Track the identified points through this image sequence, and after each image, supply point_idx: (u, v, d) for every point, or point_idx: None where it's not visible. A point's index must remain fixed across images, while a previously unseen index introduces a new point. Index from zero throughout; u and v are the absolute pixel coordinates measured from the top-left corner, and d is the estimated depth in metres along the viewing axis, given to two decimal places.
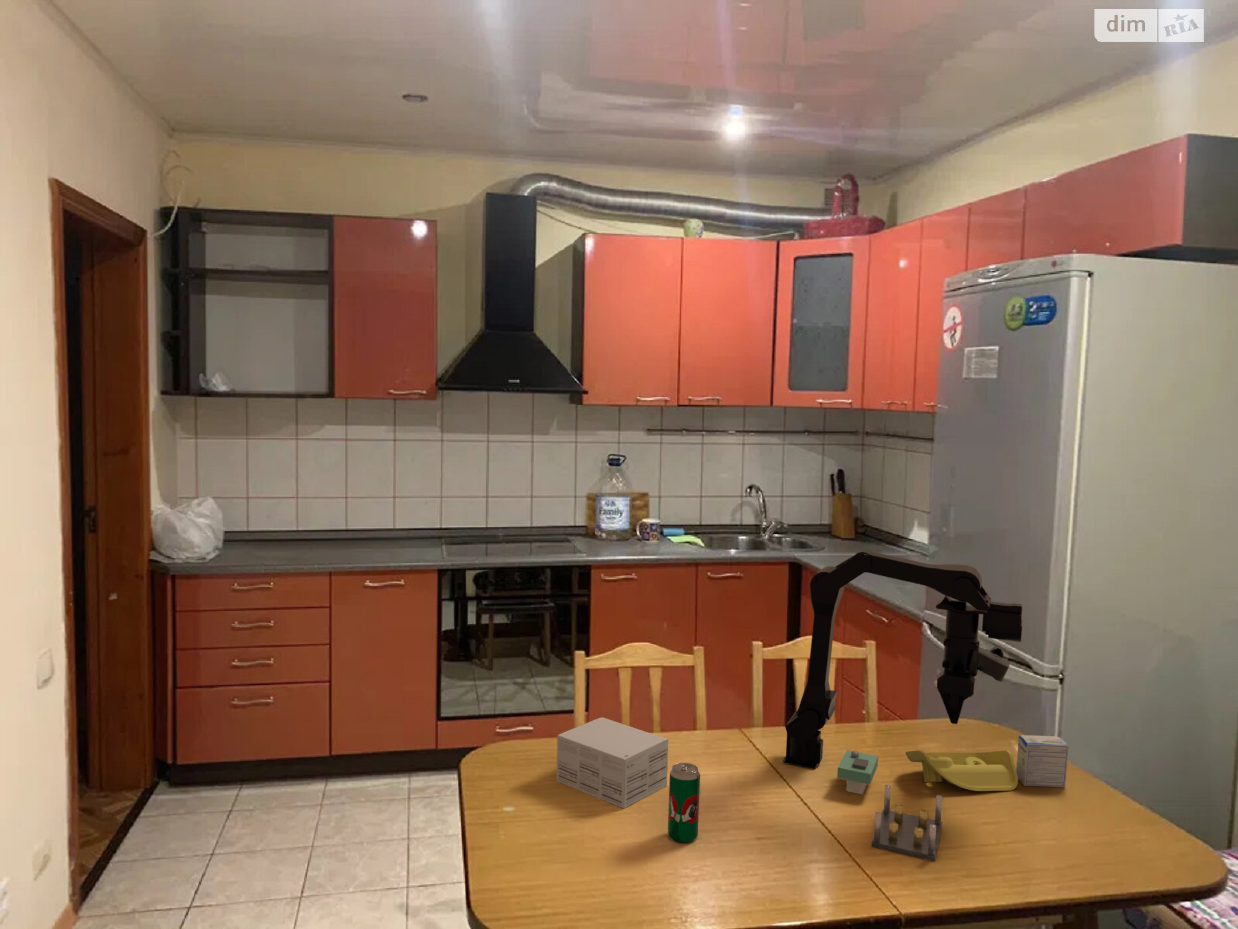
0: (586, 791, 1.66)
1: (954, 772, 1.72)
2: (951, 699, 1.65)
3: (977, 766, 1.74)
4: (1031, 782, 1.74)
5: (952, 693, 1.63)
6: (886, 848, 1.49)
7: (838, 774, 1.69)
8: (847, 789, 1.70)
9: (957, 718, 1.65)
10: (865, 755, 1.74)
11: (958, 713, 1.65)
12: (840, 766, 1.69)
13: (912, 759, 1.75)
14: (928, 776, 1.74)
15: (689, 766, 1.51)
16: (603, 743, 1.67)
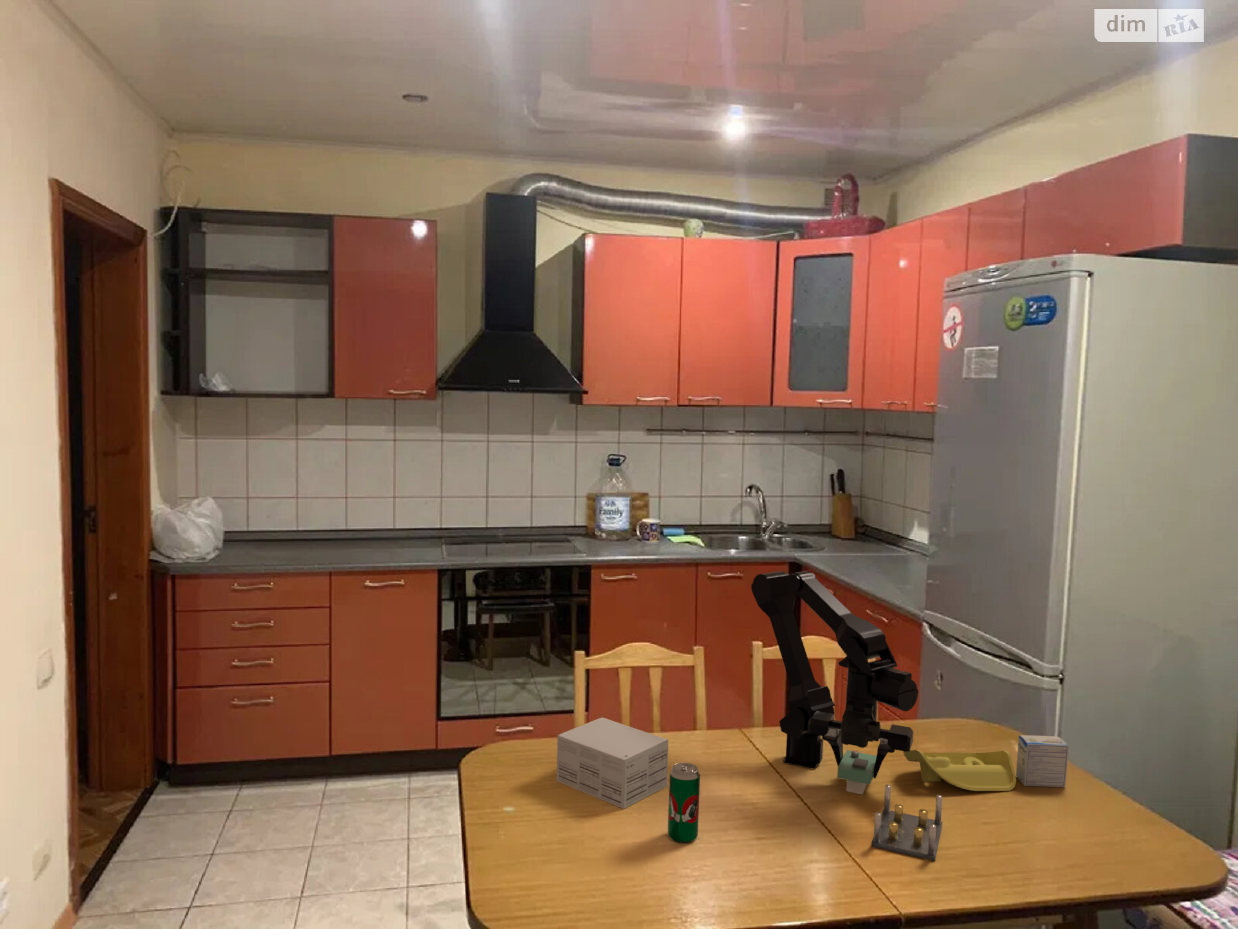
0: (586, 791, 1.66)
1: (952, 772, 1.72)
2: None
3: (975, 766, 1.74)
4: (1031, 782, 1.74)
5: None
6: (886, 848, 1.49)
7: (838, 774, 1.69)
8: (847, 789, 1.70)
9: (837, 765, 1.73)
10: (865, 755, 1.74)
11: (836, 759, 1.73)
12: (840, 766, 1.69)
13: (910, 758, 1.75)
14: (925, 776, 1.74)
15: (689, 766, 1.51)
16: (602, 743, 1.67)
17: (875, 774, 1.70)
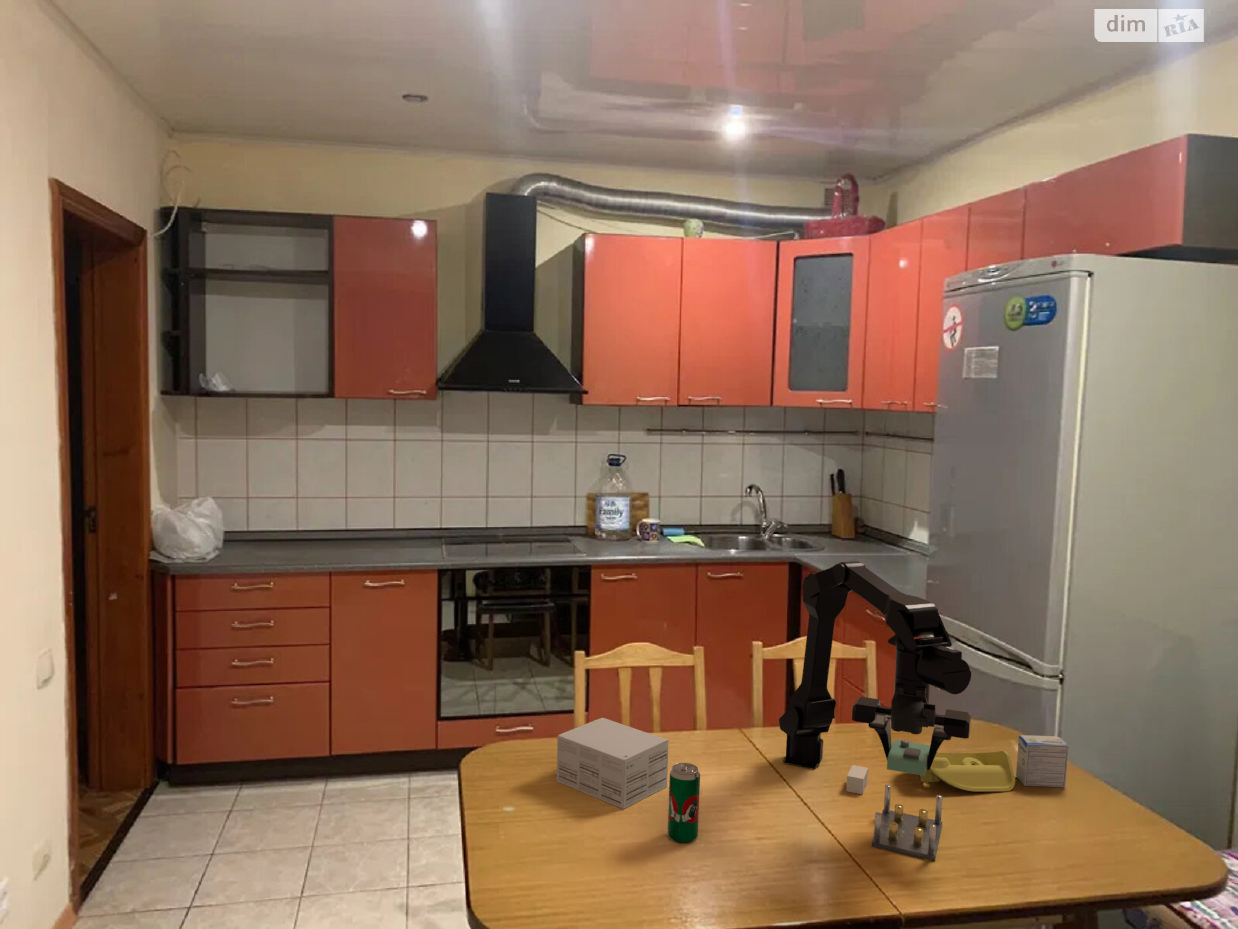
0: (586, 791, 1.66)
1: (951, 772, 1.72)
2: None
3: (974, 766, 1.74)
4: (1031, 782, 1.74)
5: None
6: (886, 848, 1.49)
7: (888, 765, 1.51)
8: (847, 789, 1.70)
9: (886, 756, 1.55)
10: (916, 744, 1.57)
11: (884, 749, 1.55)
12: (890, 756, 1.52)
13: None
14: (924, 776, 1.74)
15: (689, 766, 1.51)
16: (602, 743, 1.66)
17: (929, 765, 1.52)
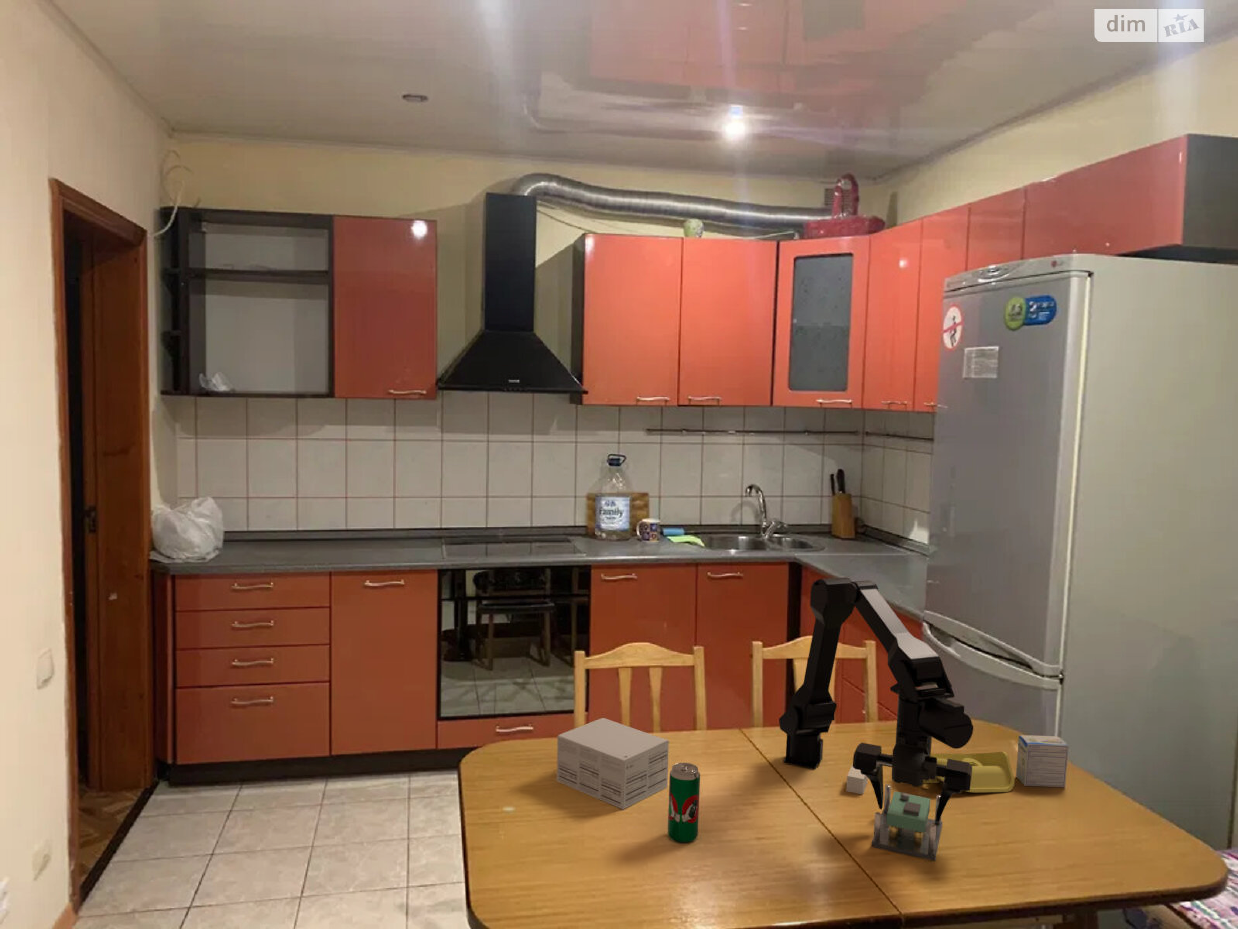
0: (586, 792, 1.66)
1: None
2: None
3: (974, 767, 1.74)
4: (1031, 782, 1.74)
5: None
6: (886, 848, 1.49)
7: (888, 821, 1.51)
8: (847, 789, 1.70)
9: None
10: (916, 798, 1.56)
11: None
12: (890, 811, 1.51)
13: None
14: None
15: (689, 766, 1.51)
16: (602, 744, 1.66)
17: (938, 817, 1.51)
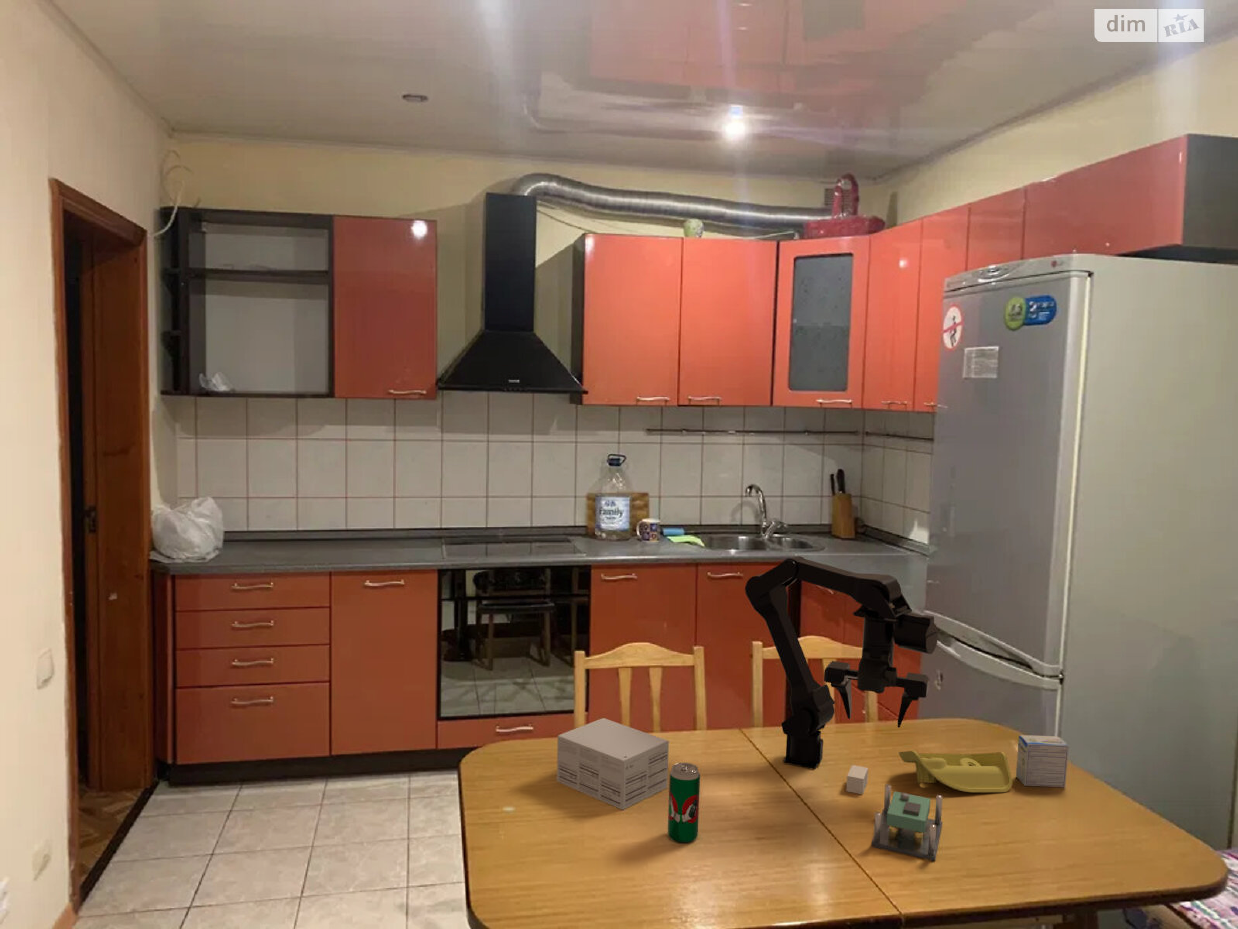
0: (586, 792, 1.66)
1: (947, 773, 1.71)
2: None
3: (971, 767, 1.74)
4: (1031, 782, 1.74)
5: None
6: (886, 848, 1.49)
7: (888, 821, 1.51)
8: (847, 789, 1.70)
9: (846, 712, 1.74)
10: (916, 798, 1.56)
11: (844, 706, 1.74)
12: (890, 811, 1.51)
13: (905, 759, 1.75)
14: (921, 777, 1.73)
15: (689, 766, 1.51)
16: (602, 744, 1.66)
17: (899, 723, 1.70)
